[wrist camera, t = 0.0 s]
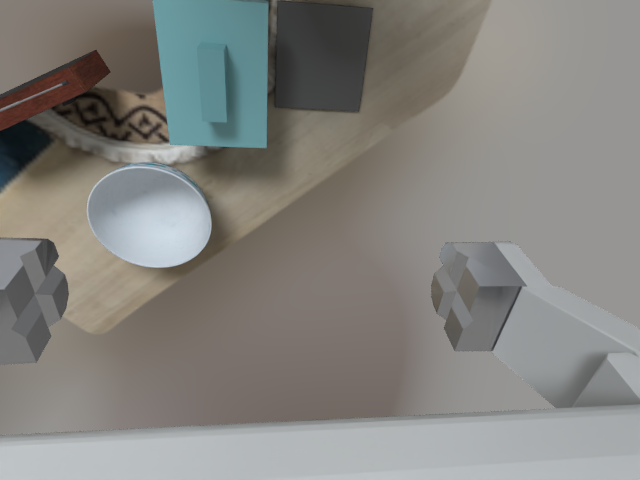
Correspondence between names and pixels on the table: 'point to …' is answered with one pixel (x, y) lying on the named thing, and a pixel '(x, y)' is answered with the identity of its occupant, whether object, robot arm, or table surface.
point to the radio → (51, 89)
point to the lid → (214, 71)
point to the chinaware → (150, 215)
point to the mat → (321, 55)
